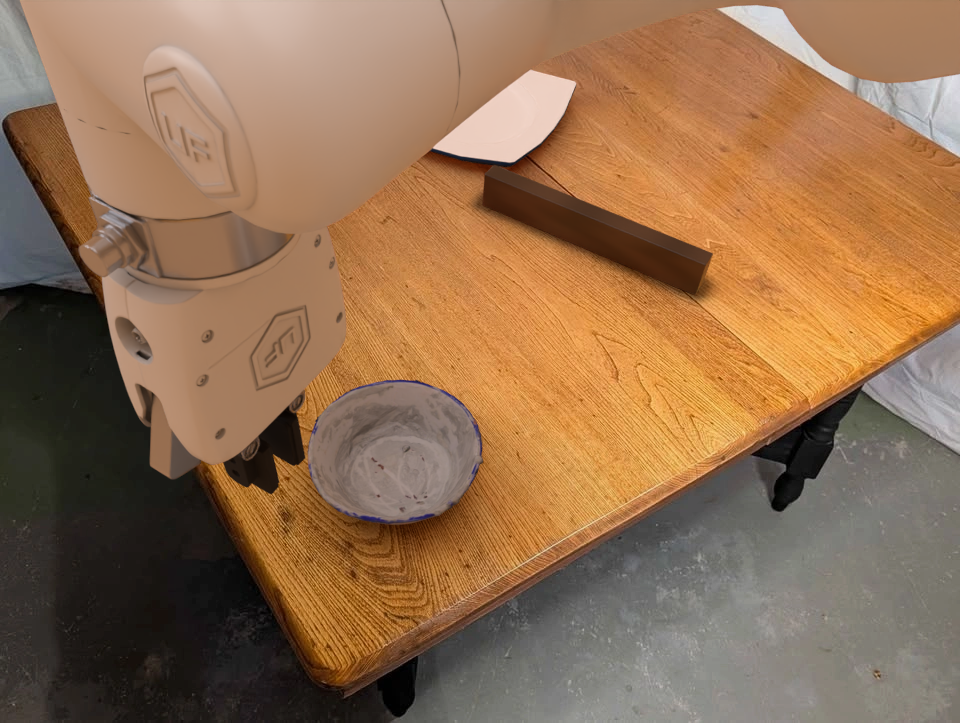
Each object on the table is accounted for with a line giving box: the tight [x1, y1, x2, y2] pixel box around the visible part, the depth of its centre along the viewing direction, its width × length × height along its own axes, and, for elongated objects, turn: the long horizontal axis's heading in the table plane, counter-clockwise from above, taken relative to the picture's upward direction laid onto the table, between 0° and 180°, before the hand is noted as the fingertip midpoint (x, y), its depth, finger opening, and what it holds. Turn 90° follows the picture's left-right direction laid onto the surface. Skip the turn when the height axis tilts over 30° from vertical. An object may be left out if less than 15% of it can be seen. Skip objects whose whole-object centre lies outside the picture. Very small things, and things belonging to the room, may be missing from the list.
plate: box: [429, 69, 577, 169], centre depth 99 cm, size 20×20×3 cm
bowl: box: [307, 379, 484, 526], centre depth 65 cm, size 13×13×5 cm
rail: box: [482, 165, 714, 296], centre depth 84 cm, size 24×2×4 cm, turn 59°
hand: (266, 463), depth 46 cm, fingers closed
